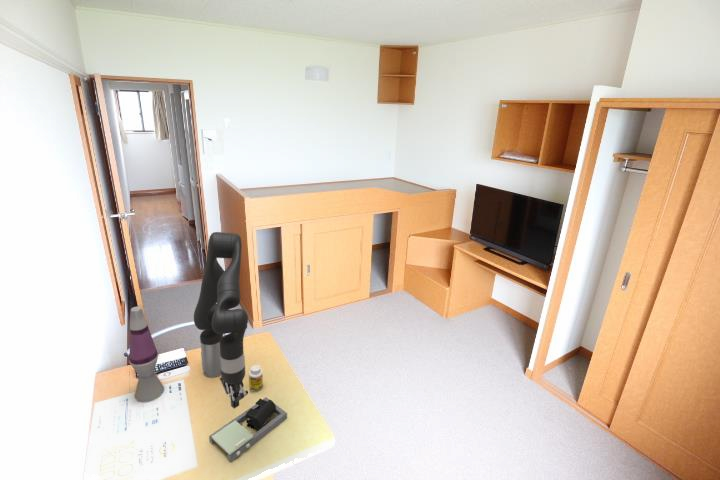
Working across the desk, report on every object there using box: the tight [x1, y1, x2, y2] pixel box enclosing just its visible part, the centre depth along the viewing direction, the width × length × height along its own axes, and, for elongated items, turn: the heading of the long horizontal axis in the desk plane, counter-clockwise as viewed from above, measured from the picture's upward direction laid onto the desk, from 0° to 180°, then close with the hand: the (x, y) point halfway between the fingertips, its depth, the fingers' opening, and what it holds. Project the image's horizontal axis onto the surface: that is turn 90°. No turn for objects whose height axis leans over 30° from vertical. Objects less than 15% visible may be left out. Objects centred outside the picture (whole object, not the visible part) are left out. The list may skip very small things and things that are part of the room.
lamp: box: [128, 306, 165, 403], centre depth 148 cm, size 11×11×40 cm
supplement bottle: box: [248, 364, 264, 392], centre depth 160 cm, size 6×6×10 cm
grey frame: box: [208, 396, 288, 463], centre depth 141 cm, size 13×26×2 cm, turn 142°
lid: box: [209, 418, 253, 455], centre depth 135 cm, size 12×10×1 cm
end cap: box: [245, 398, 276, 431], centre depth 145 cm, size 10×7×7 cm
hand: (235, 406), depth 128 cm, fingers closed
